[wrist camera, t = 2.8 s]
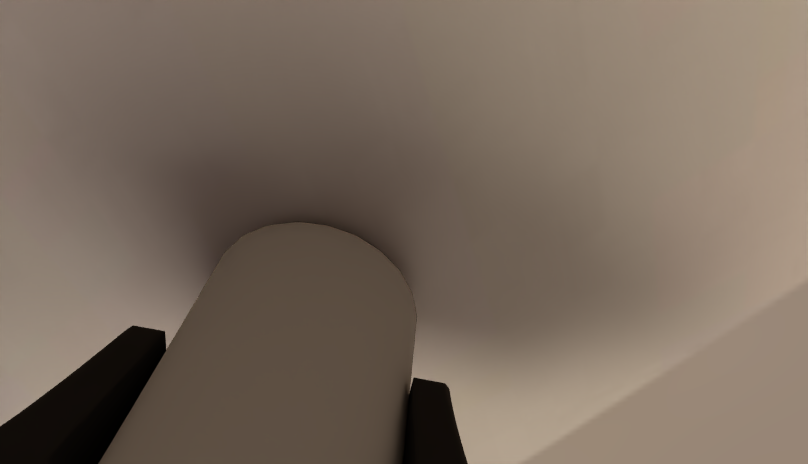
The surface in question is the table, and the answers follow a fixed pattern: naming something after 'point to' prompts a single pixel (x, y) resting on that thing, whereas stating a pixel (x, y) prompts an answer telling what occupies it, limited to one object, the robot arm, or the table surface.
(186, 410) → the beverage can
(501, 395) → the table surface
